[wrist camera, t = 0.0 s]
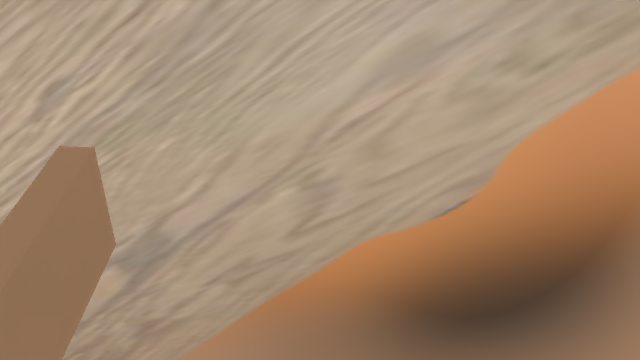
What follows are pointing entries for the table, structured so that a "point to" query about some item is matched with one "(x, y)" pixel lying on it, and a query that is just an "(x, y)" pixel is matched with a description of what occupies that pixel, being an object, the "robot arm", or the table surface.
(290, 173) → the table surface
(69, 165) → the robot arm
